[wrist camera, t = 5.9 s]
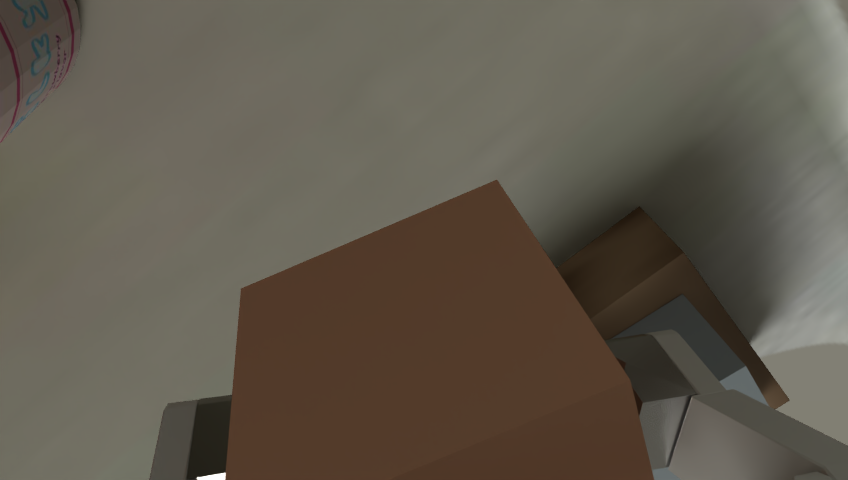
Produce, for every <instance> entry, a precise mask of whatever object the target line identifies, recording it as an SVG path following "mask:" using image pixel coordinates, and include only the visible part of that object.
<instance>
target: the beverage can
mask: <svg viewBox="0 0 848 480" xmlns="http://www.w3.org/2000/svg"><path fill="white" fill-rule="evenodd" d="M80 37H81V25H80V19H79V13H78V7H77V4H76V2H75V0H0V143H1V142H2V141H3V140H4V139H5V138H6V137H7V136H8V135H9V134H10V133H11V132H12V131H13V130H14V129H15V128H16V127H17V126H18V125H19V124H20V123H21V122H22V121H23V120H24V119H25V118H26V117H27V116H28V115H29V114H30V113H31V112H32V111H33V110H35V109H36V108H37V107H38V106H39V105H40V104H41V103H42V102H43V101H44V100H45V99H46V98H47V97H48V96H49V95H50V94H51V93H52V92H53V91H54V90H55V89H56V88H57V87H58V86H59V85H60V84H61V83H62V82H63V81H64V80H65V79H66V77H67V76H68V74H69V73H70V71H71V70H72V68H73V66H74V65H75V62H76V58H77V55H78V52H79V49H80Z"/></svg>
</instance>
